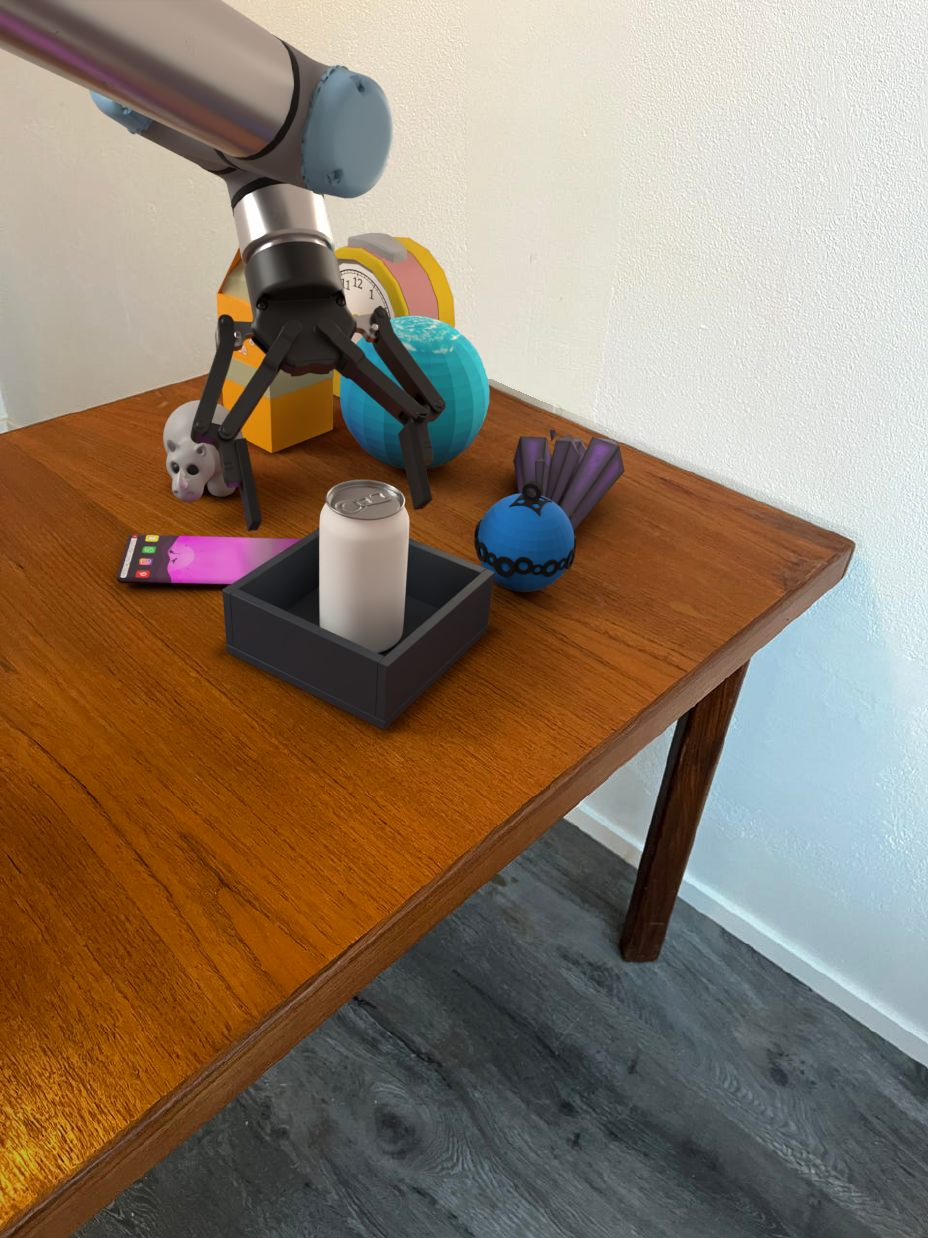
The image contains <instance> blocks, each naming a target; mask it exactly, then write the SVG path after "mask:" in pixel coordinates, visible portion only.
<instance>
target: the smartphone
mask: <svg viewBox="0 0 928 1238" xmlns="http://www.w3.org/2000/svg"><path fill="white" fill-rule="evenodd" d="M300 539H301V538H276V537H244V536H243V537H241V536H208V535H207V536H205V535H204V536H203V535H198V536H197V535H172V534H171V535H170V534H168V535H166V534H133V533H131V534H129V535H128V538H127V541H126V544H125V548H124V551H123V554H122V557H121V561H120V564H119V567H118V570H117V573H116V580H117V582H118V583H119V584H144V585H147V584H148V585H150V584H151V585H190V586H191V585H193V586H197V585H198V586H229V585H231V584H232V583H234V582H235V581H237V580H238V579H240V578H242V577H243V576H245V575H246V574H248V573H249V572H251V571H252V570H254V569H255V568H257V567H259V566H260V565H262V564H263V563H265V562H266V561H268V560H269V559H271V558H273V557H274V556H276V555H277V554H279V553H280V552H282V551H283V550H285V549H286V548H288V547H290V546H291V545H293V544H294V543H296V542H297V541H299V540H300Z"/></svg>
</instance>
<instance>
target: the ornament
mask: <svg viewBox="0 0 928 1238" xmlns="http://www.w3.org/2000/svg"><path fill="white" fill-rule="evenodd" d="M529 488H533V489H534V490H535V491H536V494H532V493H530V491H529ZM542 495H543V488H542V486H541V485H540V484H539V483H538V482H536V481H529V482H527V483H526V484H525V485H524V487H523V488H522V493H520V494H519V493H515V494H512V495H511V494H510V495H509V496H505V497H504V498H502V499H500V500H498V501H497V502H496V503H494V504H493V505H492V506H491V507H490V508H489V509H488V510H487V511H486V513H485V514H484V515H483V517H482V518H481V519H480V520H479V521H478V522H477V524H475V529H474V535H473V536H474V537H473V538H474V542H473V543H474V549H475V553H476V556H477V558H478V561H479V562H480V564H481V567H483V568H486V569H488V570H491V571H493V572H495V575H494V583H496V584H497V585H500V586H502V587H503V588H505V589H507V590H509V591H514V592H520V593H529V592H535V591H539V590H542V589H545V588H547V587H549V586H551V585H552V584H554V583H556V582H557V581H558V580H559V579H560V578H561V577H562V576H563V575H564V574H565V573H566V571H567V570H568V571H569V570H570V569H571V567H572V565H573V564H574V560H575V557H576V551H577V548H576V547H577V539H578V537H577V535H575V533H574V532H575V531H574V532H573V528H572V525H571V523H570V520H569V518H568V517H567V515H566V514H565V513H564V511H563V510H562V509H561V508H560V507H559V506H558V505H557V504H556V503H554V502H553V501H551V500H550V499H548V498H546V497H543V496H542Z"/></svg>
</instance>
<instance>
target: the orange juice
mask: <svg viewBox="0 0 928 1238" xmlns="http://www.w3.org/2000/svg"><path fill="white" fill-rule="evenodd" d="M236 250H237V251H236V253H235V254H234V256H233V259H232V261H231V263H230V266H229V268H228V269H227V272H226V274H225V276H224V278H223V280H222V282H221V285H220V287H219V289H218V291H217V292H216V293H215V294H216V295H215V296H216V312H217V319H218V318H219V317H220V316H221V315H223V314H227V315H229V316H231V317H232V318H233V320H234V321H244V322H252V321H253V314H252V309H251V304H250V299H249V294H248V289H247V284H246V279H245V273H244V271H245V267H246V266H245V265H244V264H243V261H242V258H241V253H240V247H239V246H238V248H237V249H236ZM264 357H265V354H264V353H263V352H262V351H261V350H260V349H259V348H258V347H257V346H256V345H255V344H254V343H253V341H252V340H251V339H247V340H245V341H244V343H243V347H242V349H241V350H239V351H233V355H232V359H231V363H230V367H229V370H228V373H227V376H226V379H225V382H224V385H223V388H222V402H223V403H222V404H223V405H222V406H223V407H225V408H226V409H228V410H229V411H230V410H231V409H232V407H233V406H234V404H235V403H236V401H237V400H238V398H239V397H240V395H241V394H242V392H243V390H244V389H245V387H246V386H247V384H248V383H249V381H250V380H251V378H252V377H253V375H254V374H255V372H256V371H257V369H258V367H259V366H260V364H261V363H262V361H263V359H264ZM333 377H334V370H332V371H330V372H329V374H322V375H319V374H313V373H308V374H305V375H302V376H295V377H291V374H288V373H285V372H283V371H282V370H280V371H279V373H278V374H277V376H276V377H275V379H274V381H273V382H272V384H271V385H270V386H269V387H268V389H267V390H266V392H265V393H264V395H263V397H262V398H261V400H260V401H259V403H258V404H257V406H256V407H255V409H254V411H253V412H252V414H251V415H250V417H249V418H248V420H247V421H246V423H245V425H244V426H243V428H242V429H241V430H242V434H243V438H246V440H247V442H250V443H251V444H253V445H255V446H257V447H258V448H261V449H263V450H265V451H267V452H269V453H270V454H274V453H276V452H279V451H281V450H285V449H286V448H289V447H291V446H294V445H297V444H300V443H302V442H304V441H307V440H309V439H313V438H315V437H317V436H320V435H322V434H326V433H328V432H330V431H333V430H334V394H333Z"/></svg>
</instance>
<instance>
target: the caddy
mask: <svg viewBox="0 0 928 1238" xmlns="http://www.w3.org/2000/svg"><path fill="white" fill-rule="evenodd" d="M299 539H300V540H299V541H297V542H296V543H294V544H293V545H291V546H290V547H288V548H286V549H285V550H283V551H282V552H280V553H279V554H277V555H276V556H274V557H273V558H271V559H269V560H268V561H266V562H265V563H263V564H262V565H260V566H259V567H257V568H255V569H254V570H252V571H251V572H249V573H248V574H246V575H245V576H243V577H242V578H240V579H238V580H237V581H235V582H234V583H232V584H231V585H227V586H226V587H224V588H222V604H223V618H224V619H223V620H224V632H225V649H226V653H227V654H229V655H232V656H234V657H235V658H237V659H240V660H241V661H243V662H245V663H248V664H249V665H252V666H254V667H255V668H258V669H260V670H262V671H263V672H266V673H268V674H270V675H272V676H274V677H275V678H278V679H280V680H281V681H284V682H286V683H288V684H290V685H292V686H294V687H296V688H298V689H299V690H302V691H304V692H305V693H308V694H310V695H311V696H314V697H316V698H318V699H320V700H322V701H324V702H326V703H328V704H330V705H332V706H335V707H336V708H339V709H341V710H342V711H344V712H346V713H348V714H350V715H352V716H355V717H357V718H358V719H360V720H363V721H365V722H367V723H369V724H371V725H373V726H374V727H377V728H379V729H381V730H383V731H385V730H387V728H389V727H390V726H391V725H392V724H393V723H394V722H395V720H397V719H398V718H399V717H400V716H401V715H402V714H403V713H404V712H405V711H406V710H407V709H408V708H410V706H411V705H412V704H414V703H415V702H416V701H417V700H418V699H419V698H420V697H421V696H422V695H423V694H424V693H425V692H426V691H427V690H428V689H430V687H431V686H432V685H433V684H435V682H436V681H438V679H440V677H442V676H443V675H444V674H445V673H446V672H447V671H448V670H449V669H450V668H451V667H452V666H453V665H454V664H455V663H457V661H458V660H459V659H460V658H462V657H463V655H464V654H466V653H467V652H468V651H469V650H470V649H471V648H472V647H473V646H474V645H475V644H476V643H477V642H478V641H479V640H480V639H481V638H482V637H483V636H484V635H485V634H486V633H487V632H488V629H489V621H490V614H491V607H492V597H493V589H494V583H495V581H494V575H495V572H493V571H491V570H488V569H486V568H483V566H482V565H479V564H476V563H473V562H471V561H469V560H466V559H463V558H461V557H458V556H455V555H454V554H450V553H449V552H445V551H444V550H441V549H438V548H435V547H433V546H432V545H431V546H430V545H429V544H426V543H423V542H421V541H418V540H415V539H413V538H411V537H409V543H408V560H407V577H406V593H405V608H404V623H403V632H402V636H401V638H400V640H399V641H398V642H397V643H396V644H395V645H394V646H393V647H391V648H390V649H389V650H387V651H385V652H383V653H380V654H378V653H376V652H374V651H371V650H369V649H367V648H365V647H363V646H360V645H358V644H356V643H354V642H352V641H350V640H347V639H345V638H343V637H341V636H339V635H337V634H334V633H332V632H330V631H328V630H326V629H324V628H321V627H320V602H319V527H317V528H316V529H314V530H313V531H312V532H310V533H308V534H307V535H305V536H304V537H302V538H299Z"/></svg>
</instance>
